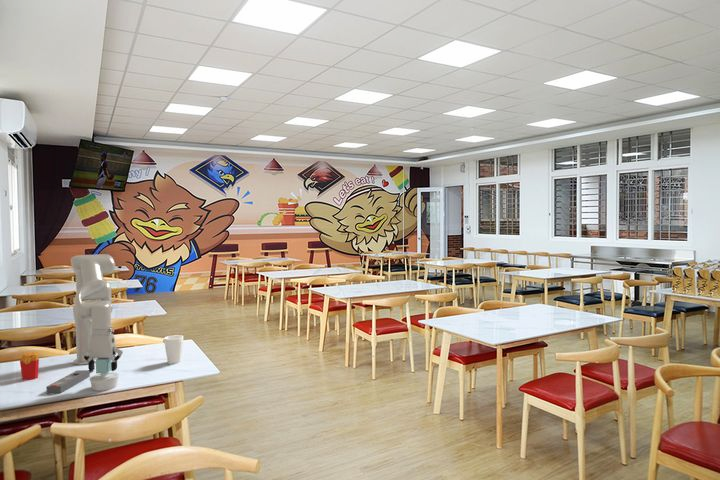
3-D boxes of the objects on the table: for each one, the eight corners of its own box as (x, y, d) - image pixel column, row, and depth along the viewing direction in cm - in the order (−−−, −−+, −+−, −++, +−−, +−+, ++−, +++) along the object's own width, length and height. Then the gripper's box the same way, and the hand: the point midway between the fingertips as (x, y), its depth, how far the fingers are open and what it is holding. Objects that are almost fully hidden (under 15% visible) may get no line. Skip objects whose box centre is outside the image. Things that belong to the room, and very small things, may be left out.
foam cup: (183, 363, 242) (183, 338, 242) (164, 365, 239) (163, 340, 239) (184, 358, 251) (183, 334, 251) (165, 360, 248) (164, 336, 248)
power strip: (86, 371, 232) (86, 364, 232) (98, 371, 232) (98, 363, 232) (46, 393, 202) (46, 385, 202) (60, 393, 202) (60, 385, 202)
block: (101, 374, 210) (101, 356, 210) (112, 374, 210) (111, 356, 210) (96, 377, 206) (95, 359, 205) (106, 377, 206) (106, 359, 205)
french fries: (18, 379, 221) (17, 354, 220) (25, 376, 225) (24, 351, 224) (36, 379, 220) (34, 354, 220) (42, 377, 224) (41, 351, 224)
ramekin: (112, 381, 216) (111, 370, 216) (123, 386, 209) (123, 375, 209) (85, 388, 208) (85, 376, 207) (96, 394, 201) (96, 382, 200)
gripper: (125, 329, 211) (126, 367, 212) (86, 330, 211) (87, 367, 212) (117, 333, 203) (118, 372, 204) (76, 334, 203) (78, 373, 204)
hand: (102, 370), depth 208 cm, fingers open, 9 cm apart
